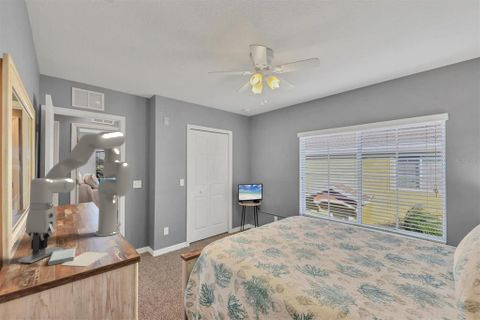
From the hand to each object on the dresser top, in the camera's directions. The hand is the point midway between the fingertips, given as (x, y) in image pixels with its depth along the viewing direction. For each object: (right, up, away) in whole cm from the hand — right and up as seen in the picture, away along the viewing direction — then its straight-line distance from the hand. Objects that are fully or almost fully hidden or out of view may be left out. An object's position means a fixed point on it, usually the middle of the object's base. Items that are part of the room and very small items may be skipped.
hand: (39, 247), depth 96 cm
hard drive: (+11, -4, -1) cm, 12 cm away
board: (+22, -4, -2) cm, 22 cm away
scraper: (+1, -3, 0) cm, 3 cm away
